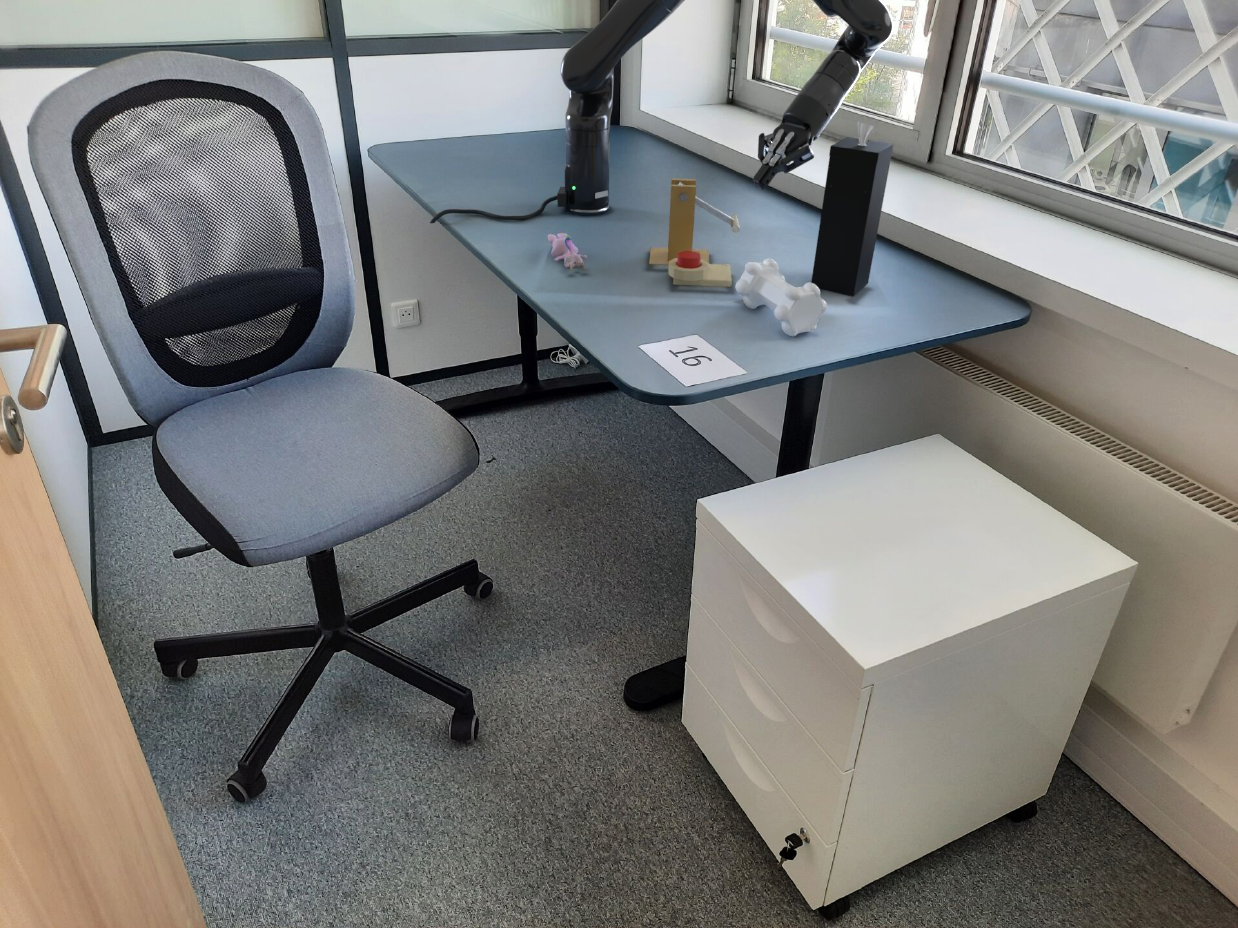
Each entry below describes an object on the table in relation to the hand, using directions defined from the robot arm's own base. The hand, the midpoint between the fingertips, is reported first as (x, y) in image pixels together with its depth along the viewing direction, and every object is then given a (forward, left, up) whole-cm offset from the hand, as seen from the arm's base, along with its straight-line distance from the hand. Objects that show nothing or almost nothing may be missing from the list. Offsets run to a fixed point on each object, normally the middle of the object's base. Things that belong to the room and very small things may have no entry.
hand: (757, 186), depth 159 cm
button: (-12, -14, -10) cm, 21 cm away
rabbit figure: (-34, -5, -14) cm, 37 cm away
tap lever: (-9, -3, -4) cm, 11 cm away
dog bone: (+3, -28, -14) cm, 31 cm away
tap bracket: (-13, -3, -14) cm, 19 cm away
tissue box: (+15, -14, -14) cm, 25 cm away
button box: (-9, -13, -14) cm, 21 cm away
